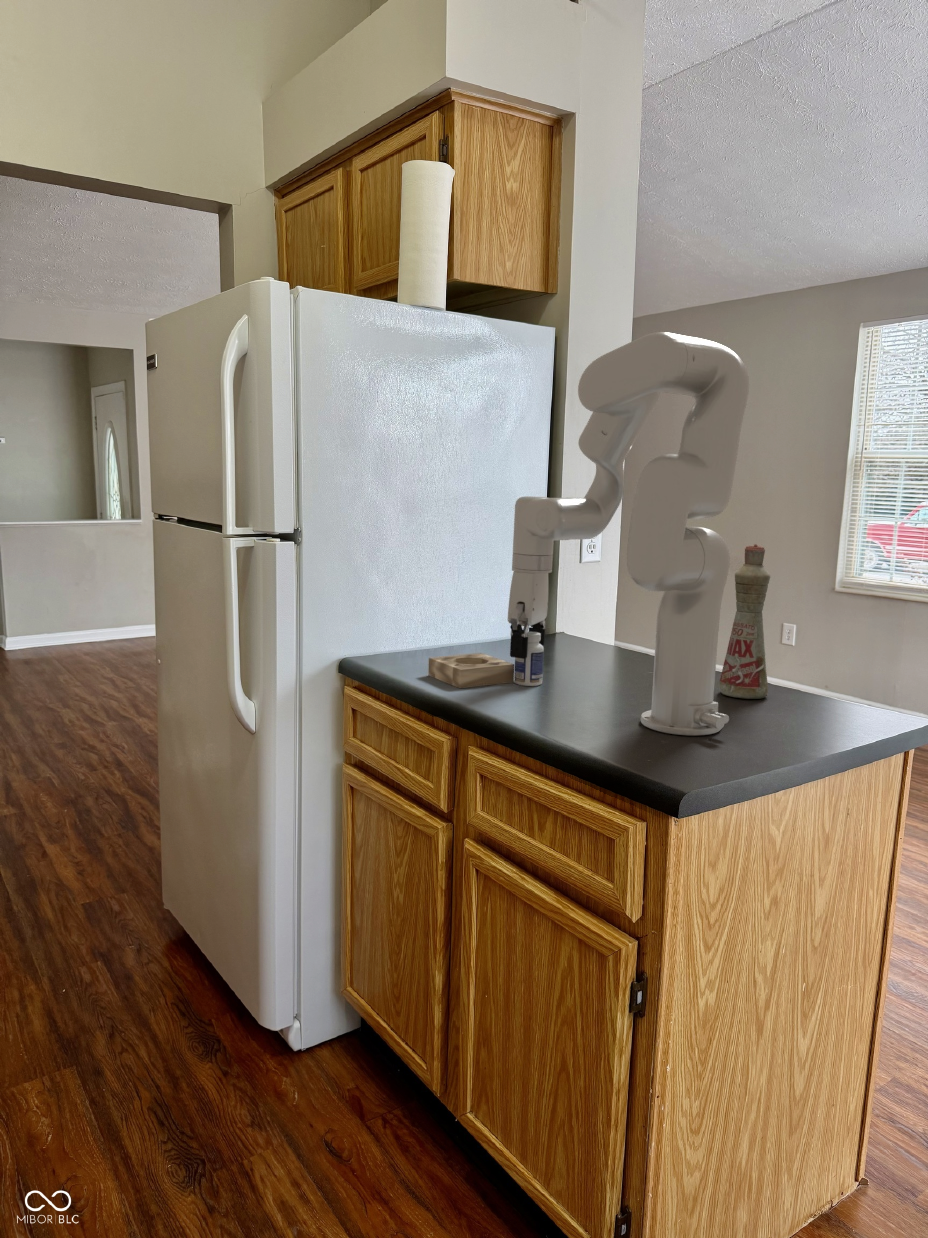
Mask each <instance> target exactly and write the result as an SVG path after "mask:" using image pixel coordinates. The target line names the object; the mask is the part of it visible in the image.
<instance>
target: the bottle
mask: <svg viewBox="0 0 928 1238" xmlns="http://www.w3.org/2000/svg"><path fill="white" fill-rule="evenodd" d="M765 553H766V549H765V547H764V546H758V544H757V543H754V544H753V545H747V546H746V547H745V548H744V564H742V565H741V566H740V567H739V568H738V569H737V570H736V571H735V573H734V582H735V583H734V584H735V587H734V588H735V600H736V601H735V603H736V611H735V614H734V619H733V623H732V628H731V632H730V637H729V641H728V645H727V648H726V653H725V657H724V661H723V664H722V665H723V666H722V671H721V674H720V677H719V678H720V679H719V683H718V688H719V691H720V692H721V694H722V695H724V696H728V697H732V698H738V699H745V700H751V699H752V700H755V699H756V700H760V699H764V698H766V697H767V696H768V693H769V682H768V676H767V675H768V674H767V663H766V650H765V649H766V648H765V636H764V635H765V634H764V622H763V621H764V619H763V611H764V610H763V609H764V605H765V601H766V596H767V592H768V588H769V586H768V585H769V584H770V580H771V574H770V572H769V571H768V570H767V569H766V568H765V567H764V566H765V565H764V559H765Z"/></svg>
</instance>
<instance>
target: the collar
mask: <svg viewBox="0 0 928 1238" xmlns="http://www.w3.org/2000/svg"><path fill="white" fill-rule="evenodd" d="M427 670H428V676H429V677H432V678H433V679H437V680H439V681H441V682H444V683H446V684H449V685H450V686H454V687H456V688H457V689H458V688H459V689H465V688H474V687H483V686H489V685H490V686H491V685H499V684H511V683H515V681H514V680H515V678H514V677H515V663H513V662H509V661H506V660H504V659H500V658H498V657H494V656H491V655H488V654H485V653H481V652H477V653H465V654H454V655H442V656H434V657H428V669H427Z"/></svg>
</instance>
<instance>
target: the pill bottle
mask: <svg viewBox="0 0 928 1238" xmlns="http://www.w3.org/2000/svg"><path fill="white" fill-rule="evenodd" d="M526 637H528V651H527V658H525V659H522V658H515V657H514V684H517V685H518V686H522V687H523V686H524V687H536V686H537V687H538V686H541V685H542V684H543V680H544V679H543V676H544V652H545V651H544V650H545V646H544V647H543V646H542V645H541V644H539V641H540V640H541V634H540V633H538V632H529V631H528V632H527V635H526Z"/></svg>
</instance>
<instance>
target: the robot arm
mask: <svg viewBox="0 0 928 1238" xmlns="http://www.w3.org/2000/svg"><path fill="white" fill-rule="evenodd" d="M749 377H750V376H749V372H748V370H747V367H746V364H745V363H744V362H743V360H742V359H741V357H740V356H739V355H738V354H737V353H736V352H735V351H733V350H732V349H731V348H729V347H727V346H726V345H723V344H721V343H718V342H715V341H712V340H708V339H704V338H700V337H695V336H688V335H682V334H677V333H672V332H666V331H665V332H664V331H660V332H653V333H652V332H651V333H648V334H646V335H643V336H641V337H638V338H637V339H634V340H631V341H630V342H628V343H625V344H623V345H622V346H619V347H617V348H616V349H615V348H614V349H613V350H611V351H608V352H606V353H604V354H602V355H601V356H599V357H598V358H596V359H595V360H593V361H592V362H591V363H590V364H588V366H587V367H586V368H585V369H584V371H583V373H582V374H581V376H580V379H579V380H578V381H579V382H578V385H577V394H578V398H579V402H580V403H581V405H582V406H583V407H584V409H587V410H588V411H590V412H592V413H591V415H590V417H589V419H588V420H587V423H586V425H585V427H584V429H582V433H581V434H580V436H579V438H578V447H579V450H580V451H581V452H582V454H583V455H584V456H585V457H586V458H588V459H589V461H591V462H593V464H595V475H594V478H593V480H592V482H591V485H590V487H589V489H588V490H587V492H586V494H585V496H584V497H546V496H521V497H518V498H517V500H516V501H515V504H514V516H513V517H514V521H513V539H512V541H513V542H512V557H511V558H512V560H511V561H512V562H511V571H513V574H512V577H511V582H510V588H509V598H508V608H507V609H508V610H507V622H508V623H509V624H510V625H509V628H510V647H509V648H510V649H509V657H511V658H514V659H515V658H522V659H525V658H527V651H528V637H526V635H527V632H538V633H540V634H541V640H540V641H539V644H541V645H542V646H543V647H544V648H545V641H546V640H545V639H546V638H545V637H546V627H547V626H546V625H547V624H546V619H547V616H548V610H549V607H548V606H549V574H550V573H551V574H552V572H553V560H554V559H553V558H554V541H570V540H590V539H593V538H596V537H597V536H599V535H600V534H602V533H603V531H604V530H605V529H606V528H607V526H608V525H609V523H610V522H611V521H612V518H613V517H614V515H615V513H616V512H617V510H618V508H619V507H620V504H621V502H622V500H623V495H624V492H625V491H624V490H625V469H624V462H625V459H626V458H627V456H628V454H629V452H630V451H631V449H632V447H633V445H634V444H635V441H636V439H637V438H638V436H639V435H640V433H641V431H642V429H643V427H644V425H645V423H646V422H647V420H648V419H649V416H650V415H651V413H652V411H653V410H654V408H655V406H656V404H657V402H658V400H659V398H660V396H661V393H663V394H670V395H677V396H679V395H682V396H689V397H692V398H694V399H695V402H694V403H693V404H692V406H691V407H690V408H689V409H690V410H689V411H688V413H687V415H686V416H685V419H684V423H683V425H682V429H681V438H680V443H679V449H678V453H667V454H666V453H665V454H661V455H659V456H656V457H654V458H653V459H652V460H650V461H649V462H648V463H647V464H646V465H645V466H644V468H643V469H642V470H641V472H640V474H639V477H638V478H637V481H636V484H635V488H634V494H633V499H632V500H633V501H632V508H631V516H630V523H629V531H628V538H627V546H626V566H627V571H628V573H629V577H630V578H631V579H632V581H633V582H634V584H635V585H637V586H638V587H639V588H640V589H642V590H644V591H648V592H663V594H662V597H661V599H660V602H659V605H658V609H657V616H656V626H655V627H656V628H655V629H656V630H655V645H654V661H653V675H652V677H653V678H652V689H651V690H652V692H651V709H650V710H646V711H644V712H642V714H641V715H640V723H641V724H642V725H643V726H644V727H646V728H648V729H651V730H653V731H655V732H656V731H657V732H660V733H663V734H664V733H665V734H669V735H670V734H672V735H677V736H678V735H679V736H709V735H712V734H714V735H715V734H716V733H718V732H720V731H721V730H722V729H723V728H724V726H725V724H726V725H727V724H728V722H729V721H730V717H729V715H728V714H725V713H721V712H719V702H718V701H714V697H715V695H714V693H715V685H716V684H715V682H716V669H717V668H716V667H717V655H718V654H717V653H718V639H719V631H720V618H721V617H720V616H721V609H722V599H723V595H724V590H725V586H726V584H727V583H726V582H727V579H728V575H729V572H730V571H729V569H730V565H731V563H730V561H731V557H730V555H731V554H730V549H729V547H728V544H727V543H726V541H725V539H724V538H723V537H722V536H721V535H720V534H719V533H718V532H716V531H715V530H712V529H709V528H705V527H703V526H702V527H700V526H687V521H688V520H702V519H703V520H704V519H709V518H714V517H717V516H719V515H720V514H722V513H723V512H724V511H725V510H726V508H727V506H729V505H728V504H729V502H730V499H731V496H732V491H733V490H732V489H733V483H734V477H735V471H736V464H737V458H738V452H739V445H740V437H741V431H742V425H743V423H744V418H745V417H744V416H745V412H746V409H747V405H748V399H749V394H750V378H749Z"/></svg>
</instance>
